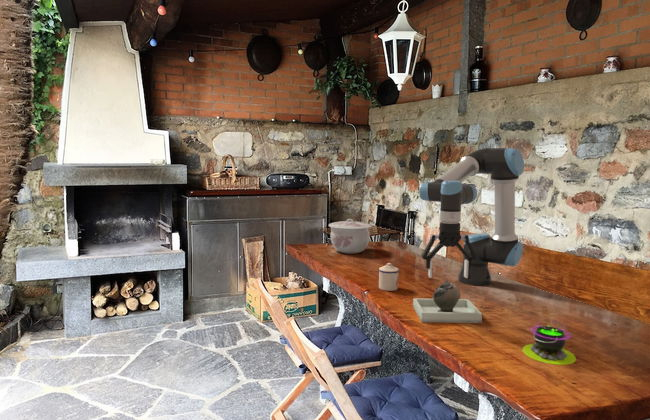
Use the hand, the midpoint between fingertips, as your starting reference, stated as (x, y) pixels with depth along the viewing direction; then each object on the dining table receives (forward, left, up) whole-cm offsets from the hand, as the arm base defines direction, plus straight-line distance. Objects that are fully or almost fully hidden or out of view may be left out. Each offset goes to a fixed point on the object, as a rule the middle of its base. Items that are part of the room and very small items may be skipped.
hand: (447, 277), depth 177 cm
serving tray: (0, 0, -15) cm, 15 cm away
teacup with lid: (+18, -35, -15) cm, 42 cm away
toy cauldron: (-23, +35, -15) cm, 44 cm away
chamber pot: (+32, -113, -15) cm, 119 cm away
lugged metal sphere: (0, 0, -14) cm, 14 cm away
